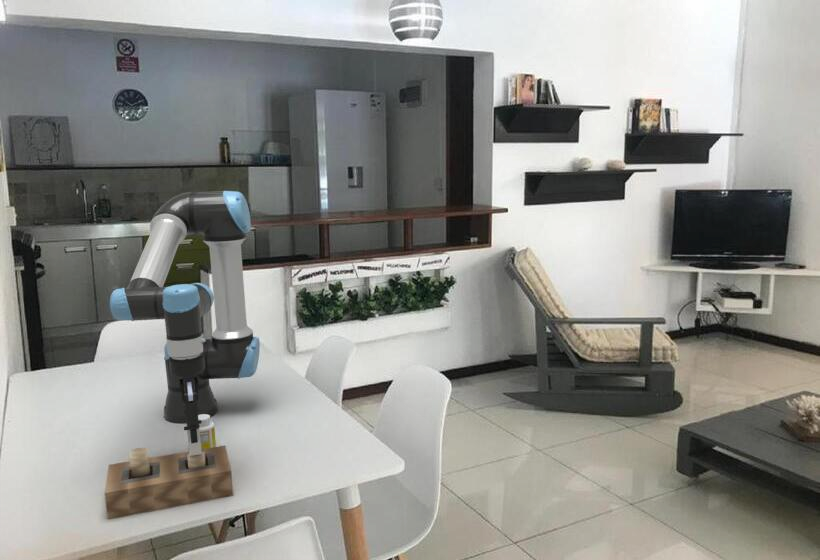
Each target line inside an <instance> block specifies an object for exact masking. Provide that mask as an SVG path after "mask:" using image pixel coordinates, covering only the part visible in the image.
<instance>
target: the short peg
mask: <svg viewBox="0 0 820 560" xmlns="http://www.w3.org/2000/svg"><path fill="white" fill-rule="evenodd" d="M187 458H188V469H191V468H197V467H203V466H206V463H205V453H204V452H203V451H202V454H199V455H193V456H189V454H188V455H187Z"/></svg>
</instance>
